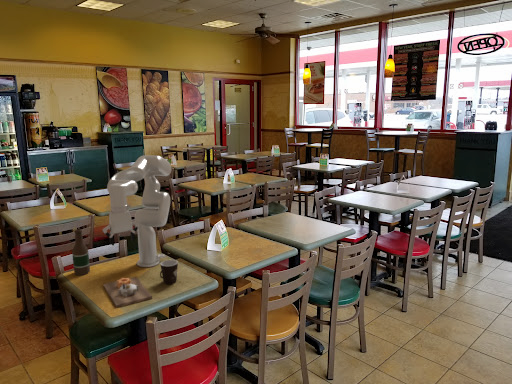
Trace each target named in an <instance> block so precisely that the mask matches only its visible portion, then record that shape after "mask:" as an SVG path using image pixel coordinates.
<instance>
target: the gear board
mask: <svg viewBox="0 0 512 384" xmlns="http://www.w3.org/2000/svg"><path fill="white" fill-rule="evenodd" d="M129 278H130V280H131V283H130V284H127V285H125V284H123V285H121V288H120V289H119V287H117V280H115V281H111V282H107V283H103V287H104V289H105V291H106V293H107V294H108V296H109V298H110V300H111V301H112V303H113V304H114V306H115V308H120V307H124V306H128V305H132V304H135V303H136V304H137V303H140V302H145V301H148V300H152V299H153V295H152V294H151V293H150V292H149V291H148V289H147V288H146V287H145V286H144V285H143V283H142V282H141V280H140V279H139V278H138V277H137V276H133V277H129Z"/></svg>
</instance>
